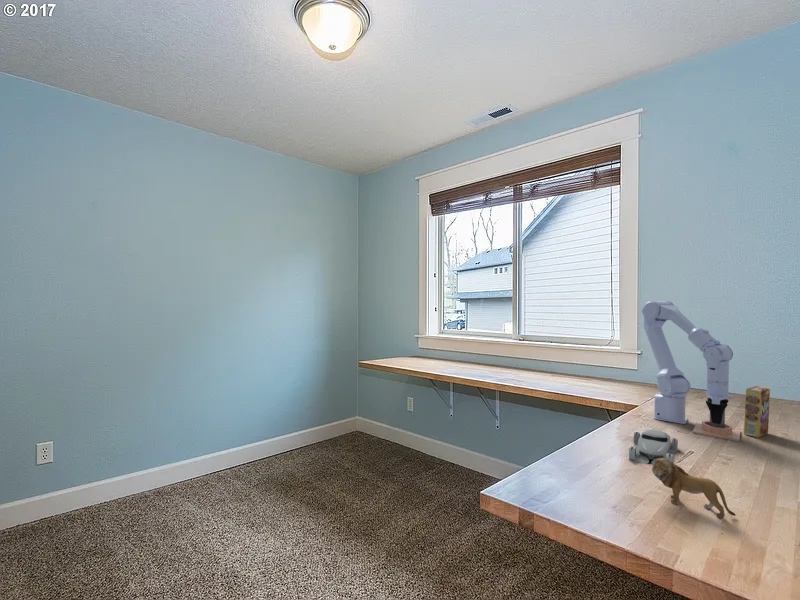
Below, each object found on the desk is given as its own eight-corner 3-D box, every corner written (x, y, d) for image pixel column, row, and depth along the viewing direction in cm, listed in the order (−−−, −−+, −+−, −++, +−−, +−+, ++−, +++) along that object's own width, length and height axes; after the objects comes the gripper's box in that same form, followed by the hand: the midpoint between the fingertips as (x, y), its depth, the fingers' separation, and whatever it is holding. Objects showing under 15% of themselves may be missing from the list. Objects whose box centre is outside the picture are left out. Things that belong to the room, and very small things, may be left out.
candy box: (760, 438, 132) (761, 391, 132) (743, 434, 136) (744, 388, 136) (769, 433, 137) (770, 387, 137) (753, 430, 141) (754, 385, 141)
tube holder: (692, 432, 137) (692, 425, 137) (696, 424, 146) (696, 417, 146) (739, 441, 129) (739, 433, 129) (740, 432, 139) (740, 424, 139)
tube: (709, 427, 138) (709, 406, 138) (710, 424, 141) (710, 404, 141) (724, 430, 135) (724, 408, 135) (725, 427, 138) (725, 406, 138)
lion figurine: (650, 500, 91) (650, 459, 91) (653, 491, 96) (654, 452, 96) (736, 523, 82) (736, 478, 82) (735, 512, 87) (736, 469, 86)
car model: (626, 461, 114) (626, 443, 114) (636, 437, 134) (637, 422, 134) (674, 471, 107) (674, 452, 107) (678, 444, 127) (678, 428, 127)
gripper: (732, 386, 130) (731, 429, 130) (733, 379, 141) (733, 419, 141) (704, 383, 134) (703, 424, 134) (707, 376, 145) (707, 415, 145)
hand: (716, 421), depth 138 cm, fingers closed on tube, 4 cm apart
